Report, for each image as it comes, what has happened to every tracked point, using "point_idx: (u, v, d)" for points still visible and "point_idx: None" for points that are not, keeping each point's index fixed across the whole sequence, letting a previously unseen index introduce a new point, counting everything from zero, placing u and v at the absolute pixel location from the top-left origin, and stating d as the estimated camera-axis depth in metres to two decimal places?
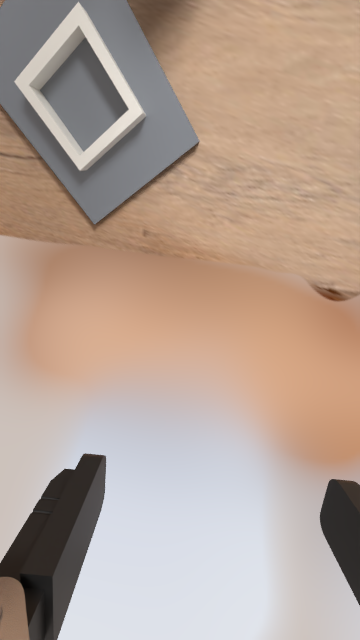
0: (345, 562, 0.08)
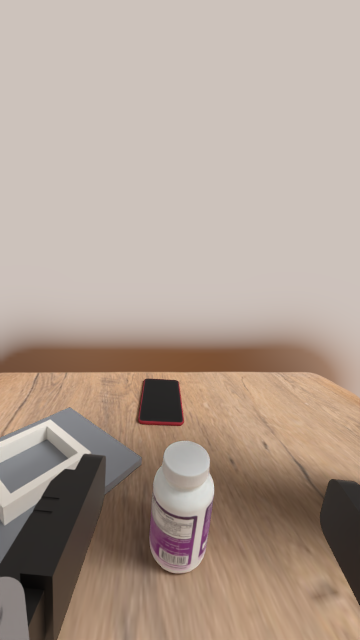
0: (345, 562, 0.08)
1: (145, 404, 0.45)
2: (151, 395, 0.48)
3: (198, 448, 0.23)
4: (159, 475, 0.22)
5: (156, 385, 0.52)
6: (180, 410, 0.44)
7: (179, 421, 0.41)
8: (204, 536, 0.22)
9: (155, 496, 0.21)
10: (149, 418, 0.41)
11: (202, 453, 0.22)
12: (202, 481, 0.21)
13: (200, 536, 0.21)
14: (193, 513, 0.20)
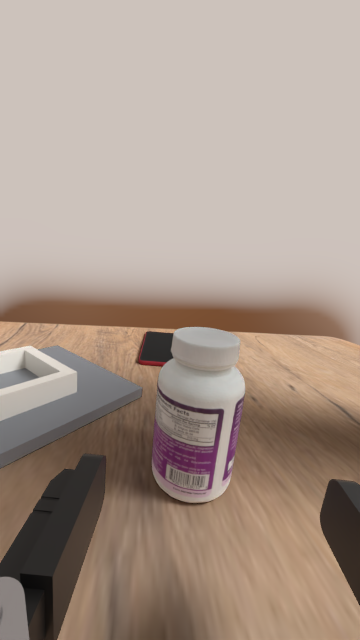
0: (345, 562, 0.08)
1: (147, 349, 0.38)
2: (153, 343, 0.41)
3: (221, 331, 0.16)
4: (166, 364, 0.16)
5: (159, 336, 0.46)
6: None
7: None
8: (231, 450, 0.15)
9: (161, 388, 0.15)
10: (151, 359, 0.35)
11: (228, 334, 0.16)
12: (231, 361, 0.14)
13: (226, 446, 0.14)
14: (218, 403, 0.13)
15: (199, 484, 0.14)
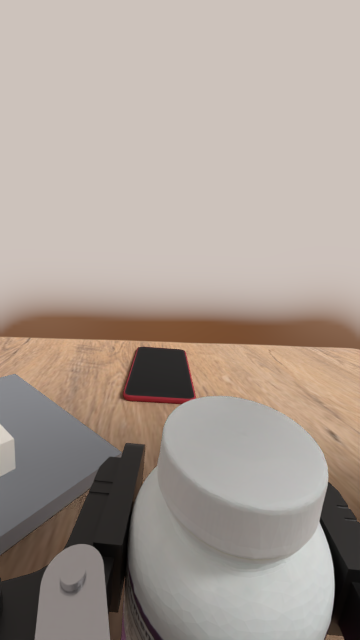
0: None
1: (137, 375, 0.30)
2: (146, 364, 0.33)
3: (269, 414, 0.07)
4: (148, 495, 0.07)
5: (153, 353, 0.37)
6: (189, 383, 0.29)
7: (188, 396, 0.26)
8: None
9: (132, 575, 0.06)
10: (141, 392, 0.26)
11: (287, 427, 0.07)
12: (314, 528, 0.05)
13: None
14: None
15: None
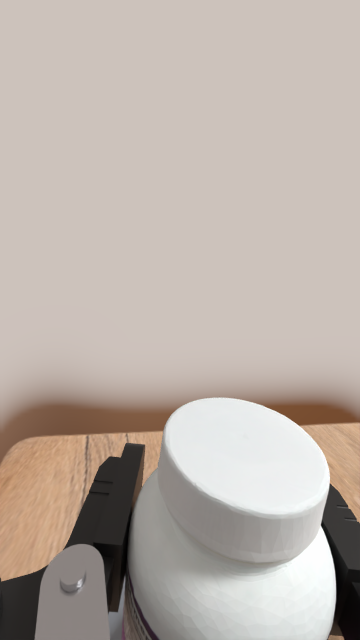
0: None
1: None
2: None
3: (269, 416, 0.07)
4: (148, 498, 0.07)
5: None
6: None
7: None
8: None
9: (132, 579, 0.06)
10: None
11: (288, 429, 0.07)
12: (315, 532, 0.05)
13: None
14: None
15: None
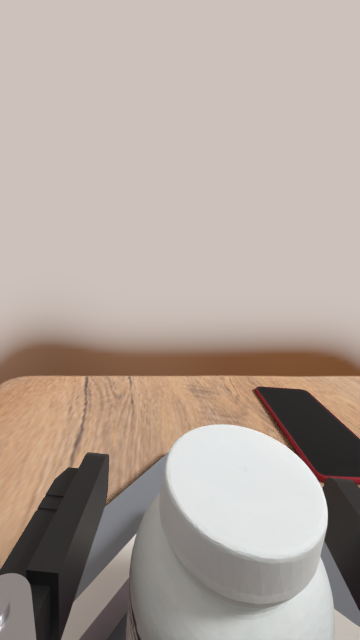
0: (341, 559, 0.08)
1: (299, 436, 0.25)
2: (291, 417, 0.28)
3: (269, 445, 0.08)
4: (150, 529, 0.07)
5: (281, 397, 0.32)
6: None
7: None
8: None
9: (135, 613, 0.06)
10: (333, 469, 0.21)
11: (287, 460, 0.07)
12: (314, 570, 0.05)
13: None
14: None
15: None
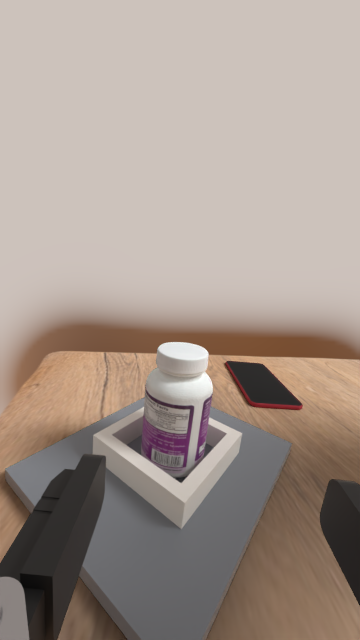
0: (345, 562, 0.08)
1: (246, 386, 0.38)
2: (245, 377, 0.41)
3: (195, 346, 0.21)
4: (152, 372, 0.20)
5: (242, 367, 0.45)
6: (289, 393, 0.37)
7: (297, 404, 0.34)
8: (201, 437, 0.20)
9: (148, 390, 0.19)
10: (262, 400, 0.34)
11: (200, 349, 0.20)
12: (200, 370, 0.19)
13: (197, 434, 0.19)
14: (189, 401, 0.18)
15: (176, 463, 0.19)
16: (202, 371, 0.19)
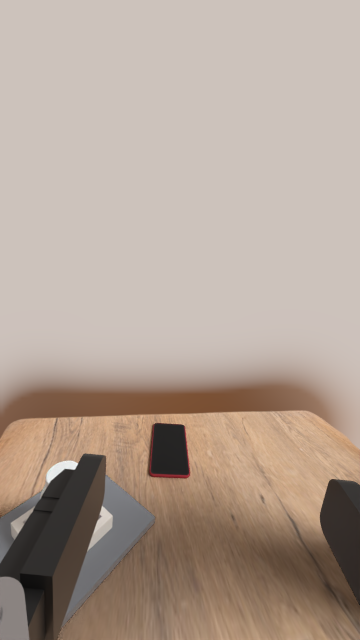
0: (345, 562, 0.08)
1: (155, 454, 0.50)
2: (160, 444, 0.53)
3: (75, 466, 0.33)
4: (46, 484, 0.32)
5: (164, 430, 0.57)
6: (186, 461, 0.49)
7: (185, 473, 0.46)
8: None
9: None
10: (159, 470, 0.46)
11: None
12: None
13: None
14: None
15: None
16: None
